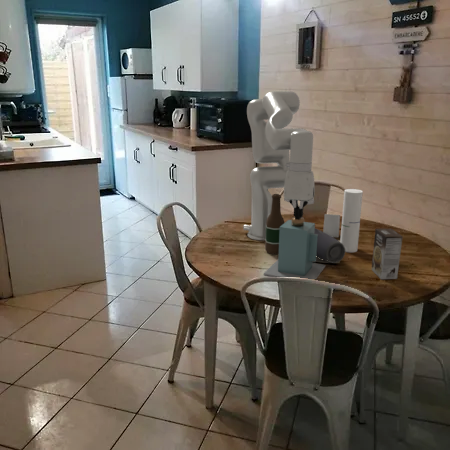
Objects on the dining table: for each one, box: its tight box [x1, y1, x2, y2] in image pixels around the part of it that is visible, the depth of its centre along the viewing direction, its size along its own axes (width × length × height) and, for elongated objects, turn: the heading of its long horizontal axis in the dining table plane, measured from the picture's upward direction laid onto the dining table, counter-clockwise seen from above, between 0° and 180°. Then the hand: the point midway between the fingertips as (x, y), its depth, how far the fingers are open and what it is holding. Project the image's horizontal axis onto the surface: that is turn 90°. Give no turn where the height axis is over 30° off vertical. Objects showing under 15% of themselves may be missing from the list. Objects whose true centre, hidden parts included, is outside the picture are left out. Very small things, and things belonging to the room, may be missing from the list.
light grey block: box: [322, 213, 341, 238], centre depth 208 cm, size 4×7×10 cm, turn 79°
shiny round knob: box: [291, 216, 305, 227], centre depth 167 cm, size 7×7×16 cm
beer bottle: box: [264, 193, 286, 255], centre depth 186 cm, size 8×8×24 cm
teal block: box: [263, 219, 326, 280], centre depth 168 cm, size 18×18×18 cm
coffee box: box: [371, 228, 403, 280], centre depth 165 cm, size 9×6×16 cm
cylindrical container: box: [339, 188, 364, 253], centre depth 189 cm, size 7×7×25 cm
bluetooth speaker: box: [314, 227, 346, 264], centre depth 183 cm, size 23×9×10 cm, turn 20°
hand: (298, 218), depth 164 cm, fingers closed
